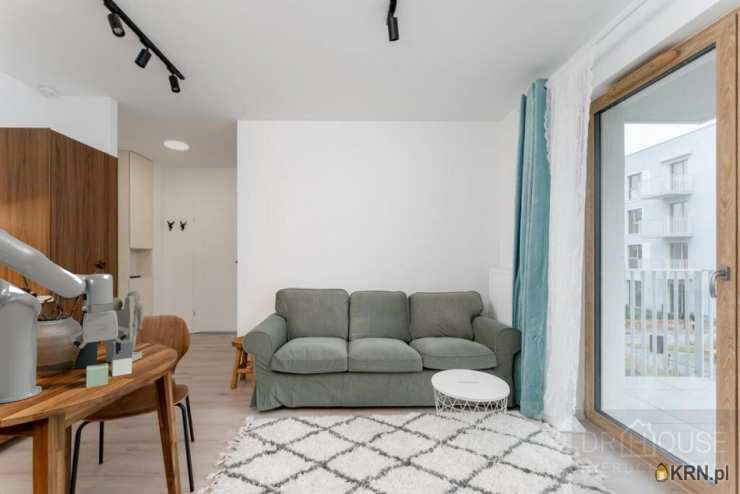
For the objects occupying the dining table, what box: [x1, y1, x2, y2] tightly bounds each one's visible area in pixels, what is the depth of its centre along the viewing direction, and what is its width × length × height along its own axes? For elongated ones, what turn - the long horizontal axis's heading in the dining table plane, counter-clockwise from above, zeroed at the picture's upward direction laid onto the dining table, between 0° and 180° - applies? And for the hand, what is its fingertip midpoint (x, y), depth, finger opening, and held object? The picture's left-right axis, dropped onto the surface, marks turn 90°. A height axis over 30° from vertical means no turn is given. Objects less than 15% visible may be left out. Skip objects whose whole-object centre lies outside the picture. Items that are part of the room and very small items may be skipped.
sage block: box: [85, 362, 109, 388], centre depth 130 cm, size 6×6×6 cm
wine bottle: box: [72, 293, 99, 370], centre depth 149 cm, size 8×8×30 cm
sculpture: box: [104, 290, 144, 363], centre depth 159 cm, size 15×8×30 cm, turn 84°
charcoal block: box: [112, 339, 133, 360], centre depth 142 cm, size 6×6×6 cm
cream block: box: [111, 358, 133, 377], centre depth 142 cm, size 6×6×6 cm
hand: (100, 356), depth 131 cm, fingers open, 9 cm apart
